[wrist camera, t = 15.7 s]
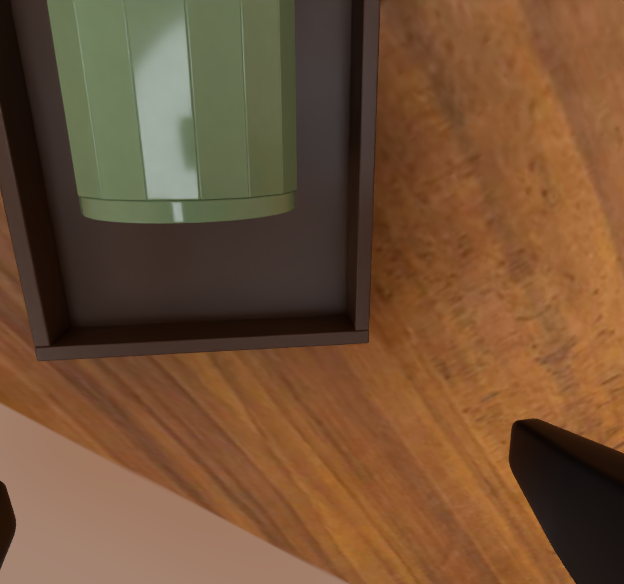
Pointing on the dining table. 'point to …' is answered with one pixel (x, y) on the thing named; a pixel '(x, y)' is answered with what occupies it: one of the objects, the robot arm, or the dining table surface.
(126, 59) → the cup
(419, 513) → the dining table surface
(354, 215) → the tray
